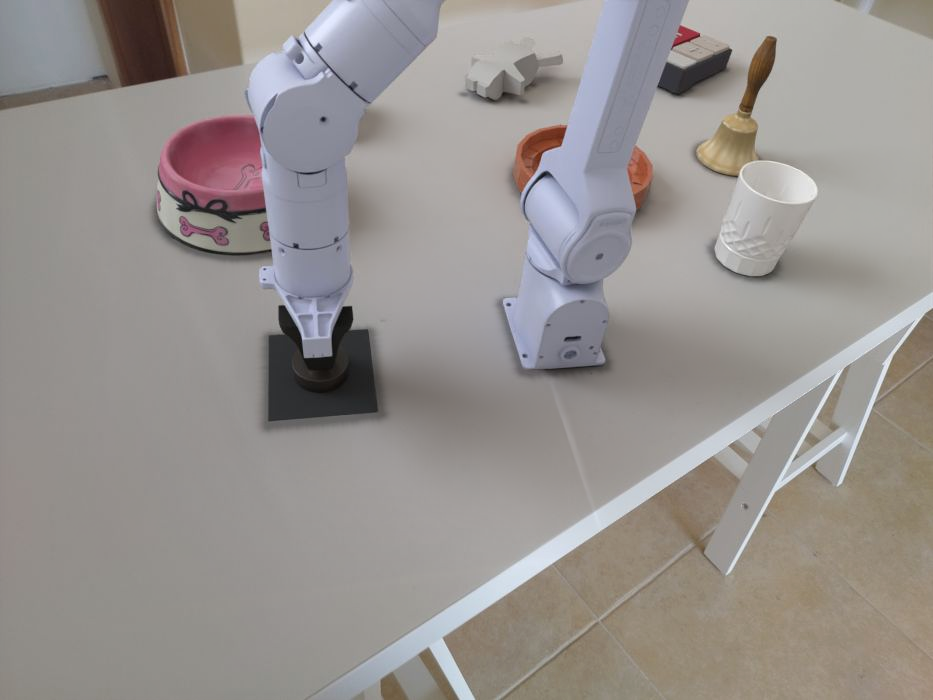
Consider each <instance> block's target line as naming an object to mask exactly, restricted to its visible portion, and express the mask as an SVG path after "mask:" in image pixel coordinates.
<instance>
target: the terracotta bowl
mask: <svg viewBox="0 0 933 700" xmlns="http://www.w3.org/2000/svg"><path fill="white" fill-rule="evenodd" d="M567 126H568V124H562V125H561V124H560V125H559V124H557V125H556V124H555V125H552V126H546V127H541V128H538V129H536V130H534V131H531V132H530V133H528V134H526V135H525V136H524V137H523V138H522V139H521V140H520V142H519V143H518V144H517V147H516V153H515V159H514V167H513V172H512V177H513V180H514V183H515V185H516V188H517V190H518V191H519V192H520V193H521V194H522V192H523V190H524V188H525V186H526V185H527V183H528V182H529V181H530V179H531V178H532V177H533V176H534V174H535V173H536V171H537V169H538V167H539V164H540V161H541V158H542V154H543V153H544V152H546V151H548V150H551V149H554V148H557V147H561V146H562V143H563V139H564V136H565V133H566V129H567ZM627 171H628V176H629V180H630V184H631V188H632V192H633V196H634V200H635V205H636V211H638V210H639V209H641V207H642V206H643V204H644V203H645V201H646V199H647V198H648V195H649V190H650V187H651V184H652V181H653V177H654V170H653V164H652V162H651V160H650V159H649V158H648V155H647V154H646V153H645V152H644V151H643V150H642V149H641V148H640V147H638V146H637V144H636V145H635V148H634V151H633V153H632V156H631V159H630V161H629V164H628V167H627Z"/></svg>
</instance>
